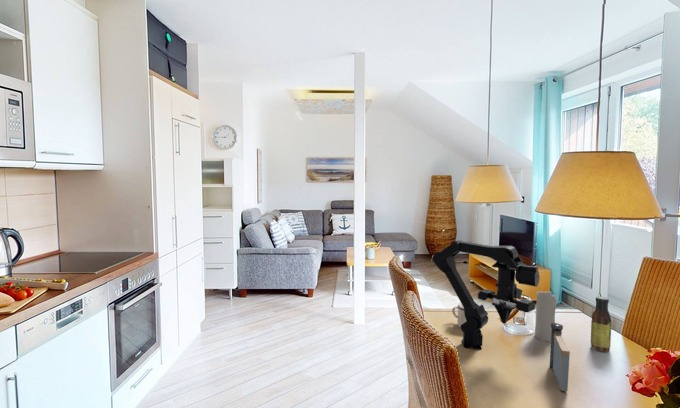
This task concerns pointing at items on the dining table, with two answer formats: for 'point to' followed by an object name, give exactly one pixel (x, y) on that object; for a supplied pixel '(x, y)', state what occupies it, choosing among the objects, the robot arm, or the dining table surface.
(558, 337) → the gate
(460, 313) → the teacup with lid
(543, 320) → the notched grey upright panel
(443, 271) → the robot arm
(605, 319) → the sauce bottle
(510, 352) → the dining table surface
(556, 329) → the hinge post
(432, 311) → the dining table surface
